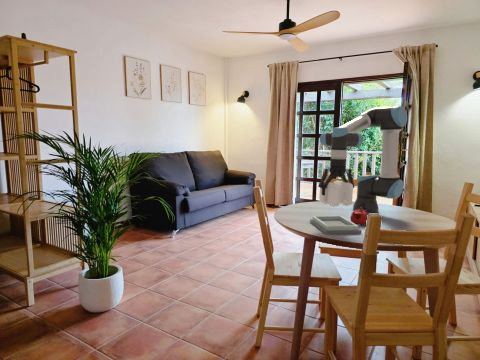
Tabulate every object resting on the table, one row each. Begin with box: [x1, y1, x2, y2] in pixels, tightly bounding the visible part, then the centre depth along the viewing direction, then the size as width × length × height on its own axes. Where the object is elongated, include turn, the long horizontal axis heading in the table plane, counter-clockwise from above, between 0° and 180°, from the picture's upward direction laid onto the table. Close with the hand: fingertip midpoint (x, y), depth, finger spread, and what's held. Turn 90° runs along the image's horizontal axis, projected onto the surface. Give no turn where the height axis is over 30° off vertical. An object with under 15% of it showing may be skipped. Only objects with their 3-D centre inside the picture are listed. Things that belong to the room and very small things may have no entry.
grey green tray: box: [309, 215, 362, 235], centre depth 158 cm, size 18×22×4 cm
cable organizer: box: [318, 179, 354, 208], centre depth 156 cm, size 15×11×12 cm
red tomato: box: [349, 207, 369, 226], centre depth 166 cm, size 10×10×9 cm
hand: (335, 201), depth 157 cm, fingers closed on cable organizer, 11 cm apart
